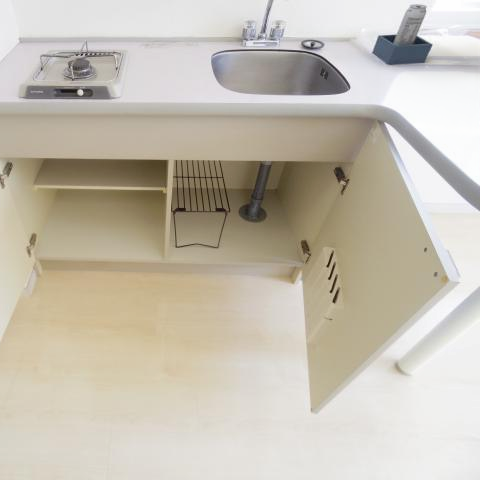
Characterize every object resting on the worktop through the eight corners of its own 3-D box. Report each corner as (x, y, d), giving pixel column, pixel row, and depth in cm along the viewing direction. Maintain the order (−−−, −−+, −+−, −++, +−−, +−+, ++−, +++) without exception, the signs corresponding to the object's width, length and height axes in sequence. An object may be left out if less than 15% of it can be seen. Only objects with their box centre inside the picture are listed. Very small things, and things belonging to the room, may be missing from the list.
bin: (424, 62, 121) (433, 44, 117) (388, 64, 121) (395, 46, 117) (406, 50, 130) (413, 33, 125) (372, 52, 130) (378, 35, 126)
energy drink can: (406, 52, 126) (426, 4, 115) (408, 58, 122) (430, 8, 111) (387, 51, 128) (406, 3, 117) (390, 57, 124) (409, 8, 113)
